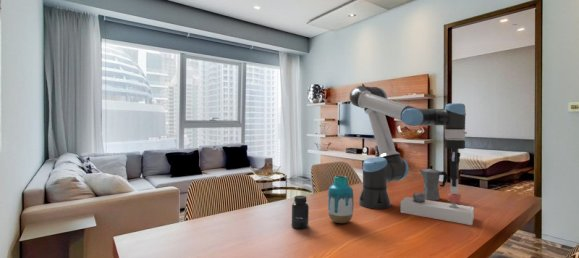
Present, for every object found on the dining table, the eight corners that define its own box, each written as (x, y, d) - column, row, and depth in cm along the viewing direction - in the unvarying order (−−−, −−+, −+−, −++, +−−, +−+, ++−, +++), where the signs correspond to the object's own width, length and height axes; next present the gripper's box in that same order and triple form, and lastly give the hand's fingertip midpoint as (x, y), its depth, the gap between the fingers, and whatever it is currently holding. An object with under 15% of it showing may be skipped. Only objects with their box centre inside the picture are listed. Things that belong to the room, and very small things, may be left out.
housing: (400, 212, 131) (400, 201, 131) (405, 207, 139) (406, 196, 139) (472, 225, 114) (472, 213, 114) (473, 218, 123) (473, 207, 122)
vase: (337, 216, 126) (337, 173, 125) (358, 222, 118) (358, 176, 118) (322, 222, 118) (322, 176, 118) (343, 228, 111) (343, 180, 110)
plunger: (412, 211, 130) (412, 194, 130) (414, 209, 134) (414, 192, 134) (423, 214, 127) (424, 196, 127) (426, 211, 131) (426, 194, 131)
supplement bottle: (296, 230, 109) (296, 200, 108) (288, 225, 115) (288, 195, 115) (311, 227, 112) (311, 197, 112) (303, 222, 118) (303, 193, 118)
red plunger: (446, 212, 122) (446, 194, 122) (448, 209, 126) (448, 192, 126) (459, 214, 119) (460, 196, 119) (461, 211, 123) (461, 193, 123)
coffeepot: (414, 196, 158) (415, 164, 157) (423, 194, 163) (423, 163, 163) (443, 203, 145) (443, 168, 145) (451, 200, 151) (452, 166, 151)
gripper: (463, 140, 114) (462, 198, 115) (466, 138, 125) (465, 191, 125) (442, 139, 119) (442, 195, 119) (447, 138, 129) (446, 189, 130)
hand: (454, 193), depth 122 cm, fingers closed
